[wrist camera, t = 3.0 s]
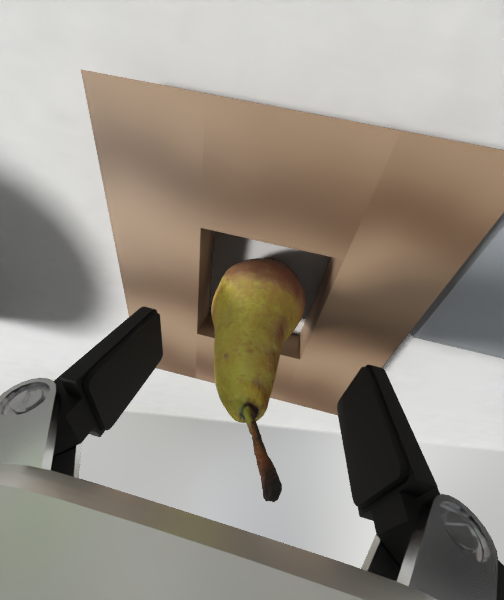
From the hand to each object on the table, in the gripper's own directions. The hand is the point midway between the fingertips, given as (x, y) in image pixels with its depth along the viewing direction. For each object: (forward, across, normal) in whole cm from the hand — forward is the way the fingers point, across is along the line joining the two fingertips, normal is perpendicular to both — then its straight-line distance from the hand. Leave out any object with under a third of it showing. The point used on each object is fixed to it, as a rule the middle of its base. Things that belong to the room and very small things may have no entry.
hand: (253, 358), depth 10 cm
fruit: (+7, +1, 0) cm, 7 cm away
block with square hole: (+6, +1, 0) cm, 7 cm away
